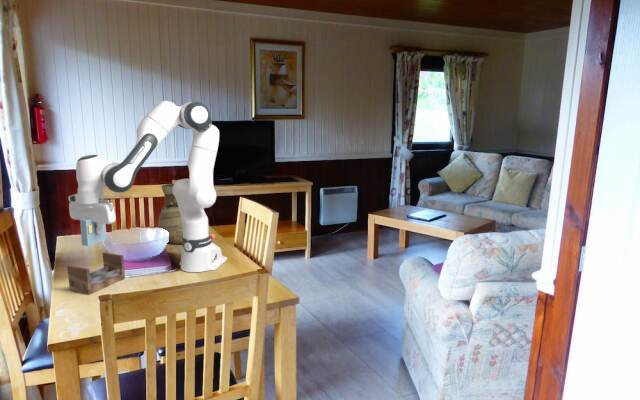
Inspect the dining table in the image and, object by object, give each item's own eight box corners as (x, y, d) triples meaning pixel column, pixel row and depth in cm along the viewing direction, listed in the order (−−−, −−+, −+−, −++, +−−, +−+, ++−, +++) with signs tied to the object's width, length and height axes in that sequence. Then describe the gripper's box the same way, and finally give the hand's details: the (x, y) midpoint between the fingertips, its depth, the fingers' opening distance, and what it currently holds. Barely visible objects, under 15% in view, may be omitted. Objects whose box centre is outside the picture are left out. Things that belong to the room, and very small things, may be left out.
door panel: (101, 239, 184) (99, 214, 182) (107, 240, 183) (106, 215, 181) (82, 245, 176) (79, 219, 174) (89, 246, 175) (87, 220, 173)
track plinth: (106, 274, 194) (104, 252, 192) (125, 278, 190) (123, 255, 188) (69, 290, 177) (67, 266, 175) (89, 294, 174) (86, 269, 172)
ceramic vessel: (207, 238, 246) (205, 183, 240) (177, 248, 228) (174, 189, 222) (182, 233, 256) (179, 180, 249) (151, 242, 238) (147, 186, 231)
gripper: (118, 198, 175) (120, 233, 178) (78, 193, 182) (81, 227, 185) (105, 201, 169) (107, 237, 172) (64, 196, 177) (68, 231, 180)
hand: (94, 232), depth 179 cm, fingers closed on door panel, 3 cm apart
